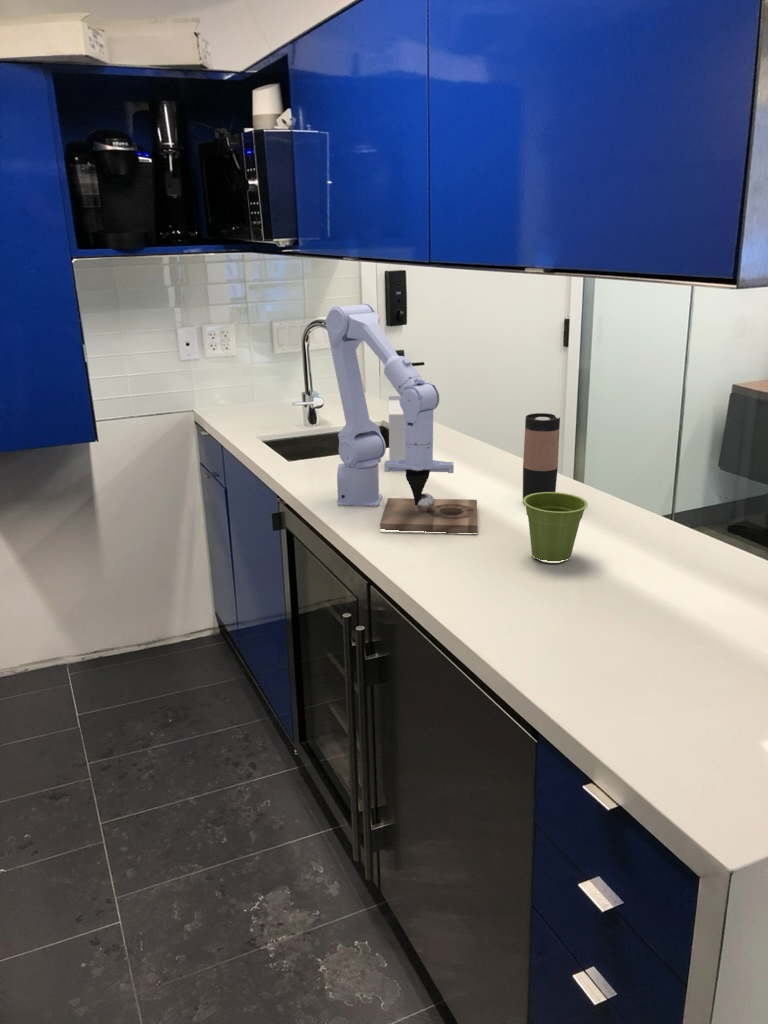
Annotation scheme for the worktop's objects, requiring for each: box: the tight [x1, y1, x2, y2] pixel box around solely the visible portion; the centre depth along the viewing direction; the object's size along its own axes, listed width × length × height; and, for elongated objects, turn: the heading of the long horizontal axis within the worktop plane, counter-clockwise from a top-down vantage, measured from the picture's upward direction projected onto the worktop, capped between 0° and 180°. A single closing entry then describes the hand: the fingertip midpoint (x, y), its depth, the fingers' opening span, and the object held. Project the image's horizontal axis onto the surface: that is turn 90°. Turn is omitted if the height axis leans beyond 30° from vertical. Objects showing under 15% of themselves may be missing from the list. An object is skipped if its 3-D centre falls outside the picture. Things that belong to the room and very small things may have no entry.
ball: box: [416, 492, 435, 512], centre depth 178 cm, size 4×4×4 cm
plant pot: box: [522, 492, 589, 561], centre depth 156 cm, size 12×12×11 cm
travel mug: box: [522, 412, 561, 506], centre depth 186 cm, size 8×8×20 cm
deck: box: [379, 497, 479, 534], centre depth 179 cm, size 20×17×2 cm
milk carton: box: [388, 395, 406, 461], centre depth 215 cm, size 7×7×19 cm
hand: (418, 504), depth 178 cm, fingers closed, pressing on ball
